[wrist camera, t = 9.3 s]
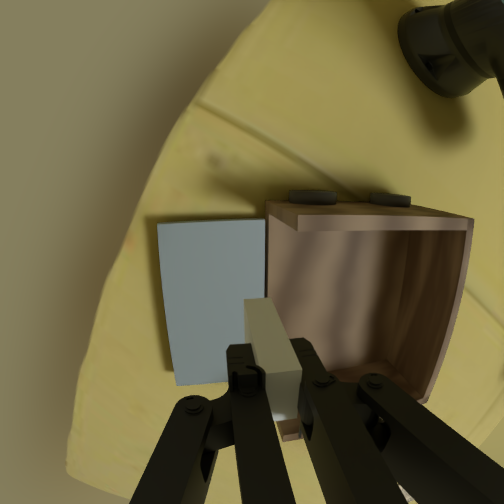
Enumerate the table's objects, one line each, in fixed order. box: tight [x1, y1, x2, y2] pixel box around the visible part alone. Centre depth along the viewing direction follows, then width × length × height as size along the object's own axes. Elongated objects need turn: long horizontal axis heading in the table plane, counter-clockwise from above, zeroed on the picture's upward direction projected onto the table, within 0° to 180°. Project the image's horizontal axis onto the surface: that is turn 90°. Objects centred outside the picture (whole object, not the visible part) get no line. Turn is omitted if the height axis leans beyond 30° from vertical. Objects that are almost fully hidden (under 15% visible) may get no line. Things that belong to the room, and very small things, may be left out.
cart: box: [264, 190, 474, 442], centre depth 31 cm, size 20×26×12 cm
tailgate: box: [157, 218, 265, 386], centre depth 33 cm, size 2×20×11 cm
